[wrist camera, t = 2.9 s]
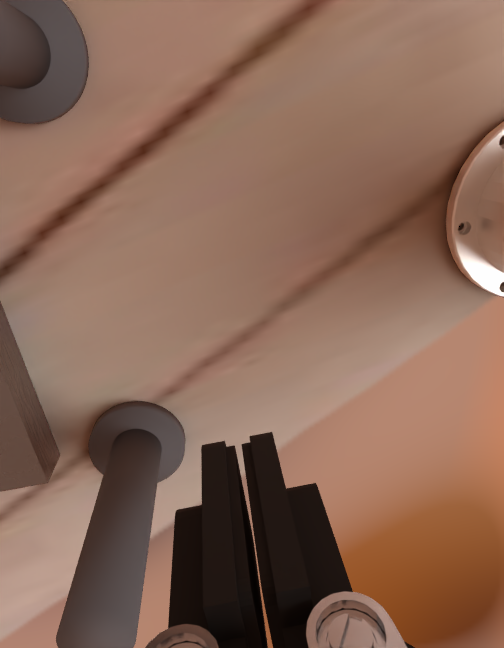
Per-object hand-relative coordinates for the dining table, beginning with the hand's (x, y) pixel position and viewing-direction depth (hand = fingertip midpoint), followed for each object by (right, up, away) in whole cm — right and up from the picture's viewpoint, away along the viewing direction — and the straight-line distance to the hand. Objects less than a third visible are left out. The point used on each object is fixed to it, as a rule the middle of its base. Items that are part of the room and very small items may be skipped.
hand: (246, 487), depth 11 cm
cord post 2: (-8, -5, +24) cm, 26 cm away
